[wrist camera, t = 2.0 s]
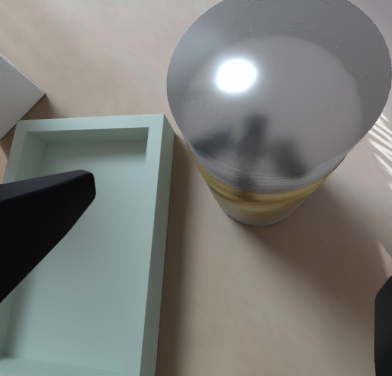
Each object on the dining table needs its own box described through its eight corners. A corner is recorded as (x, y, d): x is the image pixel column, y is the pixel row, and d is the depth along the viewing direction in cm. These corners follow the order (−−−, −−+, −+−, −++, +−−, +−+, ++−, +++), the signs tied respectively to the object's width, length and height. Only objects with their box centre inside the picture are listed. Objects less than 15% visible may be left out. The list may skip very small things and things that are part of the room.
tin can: (308, 228, 18) (409, 174, 7) (209, 225, 19) (156, 175, 8) (304, 136, 20) (379, -30, 8) (213, 139, 21) (173, -3, 10)
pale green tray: (154, 389, 17) (135, 414, 15) (-4, 364, 20) (-46, 382, 17) (174, 132, 22) (163, 113, 19) (44, 136, 24) (17, 120, 21)
